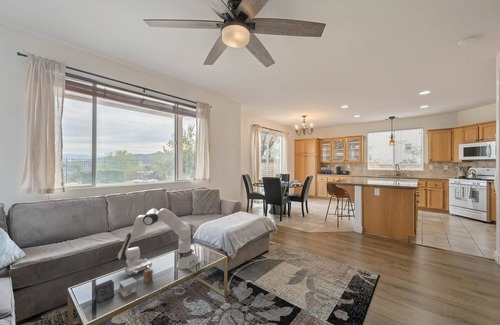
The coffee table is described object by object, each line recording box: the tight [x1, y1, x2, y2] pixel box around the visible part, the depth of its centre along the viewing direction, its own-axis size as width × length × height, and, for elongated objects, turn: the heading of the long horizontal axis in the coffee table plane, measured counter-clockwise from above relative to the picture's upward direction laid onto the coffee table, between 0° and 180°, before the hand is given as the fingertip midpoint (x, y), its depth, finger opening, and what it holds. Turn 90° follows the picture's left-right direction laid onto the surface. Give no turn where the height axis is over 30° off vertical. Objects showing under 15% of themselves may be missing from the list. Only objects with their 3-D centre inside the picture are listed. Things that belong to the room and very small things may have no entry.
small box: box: [94, 279, 115, 304], centre depth 150 cm, size 11×6×10 cm, turn 141°
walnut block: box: [143, 267, 153, 284], centre depth 172 cm, size 5×5×9 cm
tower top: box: [119, 276, 138, 292], centre depth 158 cm, size 9×9×4 cm
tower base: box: [118, 286, 138, 298], centre depth 158 cm, size 9×9×4 cm
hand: (143, 270), depth 178 cm, fingers open, 8 cm apart
